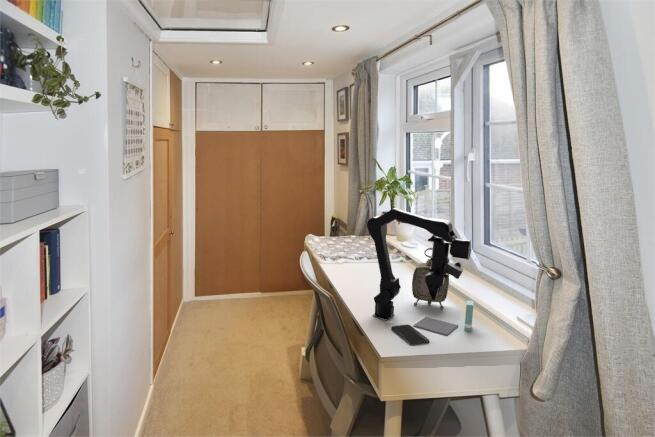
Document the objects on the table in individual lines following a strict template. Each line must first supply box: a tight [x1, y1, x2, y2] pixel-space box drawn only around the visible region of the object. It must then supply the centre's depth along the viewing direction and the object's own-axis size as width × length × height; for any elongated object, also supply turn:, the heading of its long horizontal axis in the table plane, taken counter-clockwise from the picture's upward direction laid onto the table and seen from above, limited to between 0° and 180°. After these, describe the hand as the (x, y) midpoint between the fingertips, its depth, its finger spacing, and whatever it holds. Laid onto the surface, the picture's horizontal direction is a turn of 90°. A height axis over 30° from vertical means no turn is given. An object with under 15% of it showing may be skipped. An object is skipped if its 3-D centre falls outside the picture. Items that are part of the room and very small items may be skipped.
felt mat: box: [413, 316, 459, 337], centre depth 170 cm, size 13×11×1 cm
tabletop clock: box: [411, 247, 450, 311], centre depth 189 cm, size 14×9×25 cm, turn 73°
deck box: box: [463, 300, 474, 332], centre depth 168 cm, size 2×5×10 cm, turn 163°
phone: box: [390, 324, 430, 346], centre depth 161 cm, size 8×1×15 cm
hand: (435, 295), depth 167 cm, fingers open, 9 cm apart
